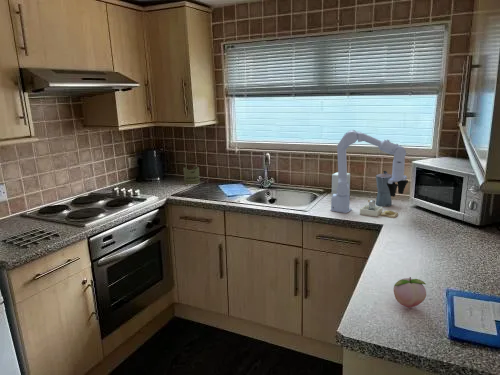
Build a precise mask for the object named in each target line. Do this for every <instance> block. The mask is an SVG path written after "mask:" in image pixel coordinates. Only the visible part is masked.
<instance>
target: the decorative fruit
mask: <svg viewBox="0 0 500 375" xmlns="http://www.w3.org/2000/svg"><path fill="white" fill-rule="evenodd" d="M424 285H427V283H426V282H425V281H423V280H421V279H419V278H412V277H411V276H409V278H408V277H406V278H400V279H398V280H397V281H396V282H395V283H394V285H393V295H394V298H395V300H396V302H398V303H399V304H400V305H401V306H403V307H406V308H407V309H408V308H414V307H417V306H419V305H420V304H422V303H424V300H425V299H426V298H427V290H426V287H425V286H424Z"/></svg>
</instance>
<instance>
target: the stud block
mask: <svg viewBox="0 0 500 375" xmlns="http://www.w3.org/2000/svg"><path fill="white" fill-rule="evenodd" d="M398 215H399V212H397V211H393V210H383V211H382V213H381V214H380V215H379V216H380V217H386V218H392V219H395V218H396V217H397V216H398Z"/></svg>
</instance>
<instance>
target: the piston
mask: <svg viewBox="0 0 500 375" xmlns="http://www.w3.org/2000/svg"><path fill="white" fill-rule="evenodd" d="M200 180H201V177H200V167H198V166H193V168H192V169H188V168H187V166H186V167H183V181H184V185H185V184H198V183H200V184H201V181H200ZM198 185H199V184H198Z"/></svg>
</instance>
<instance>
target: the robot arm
mask: <svg viewBox="0 0 500 375" xmlns="http://www.w3.org/2000/svg"><path fill="white" fill-rule="evenodd" d="M356 142H358V143H361V142H365V143H367V144H370V145H373V146H376V147H378V149H379V151H380V152H384V153H386V154H388V155H392V156H393V160H392V169H391V170H392V171H391V175H392V178H390V179H389V180H388V182H387V186H388V188H389V191H390V196H391V197H396V193H397V192H398V194H399V195H403V194H404V191H405V188H406V186H407V185H408V183H409V180H407V179H408V176H407V175H405V163H406V161H405V160H406V156H407V153H406V152H407V151H406V149H405V147H404V146H402V145H399V144H398V143H393V142H391V141H390V139H383V140H380V139H378V138H376V137H373V136H371V135H368V134H366V133H364V132H362V131H356V130H354V129H350V130H348V131H347V132H346V133H345V134H344V135H343V136H342V138H341V139H340V141H339V142H338V144H337V147H336V150H337V172H338V187H337V193H336V194H333V195H332V194H331V201H330V211H331V212H337V213H344V214H348V213H349V212H351V211H352V210H353V209H352V208H350V196H351V195H350V194H351V193H350V194H349V193H348V192H349V188H350V189H351V185H350V186H349V184H348V179H347V173H348V166H347V161H348V160H347V149H348V148H349V146H351V145H353V144H355V143H356ZM397 189H398V190H397Z"/></svg>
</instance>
